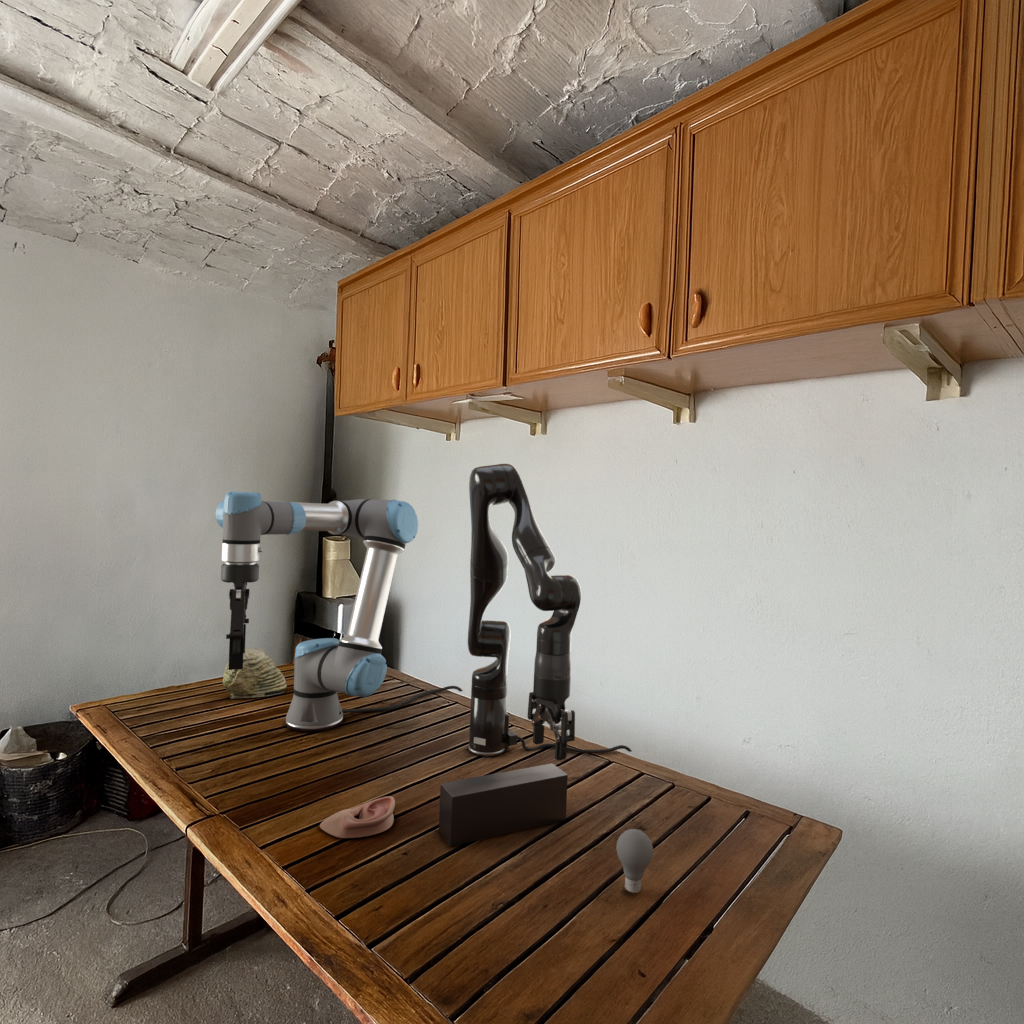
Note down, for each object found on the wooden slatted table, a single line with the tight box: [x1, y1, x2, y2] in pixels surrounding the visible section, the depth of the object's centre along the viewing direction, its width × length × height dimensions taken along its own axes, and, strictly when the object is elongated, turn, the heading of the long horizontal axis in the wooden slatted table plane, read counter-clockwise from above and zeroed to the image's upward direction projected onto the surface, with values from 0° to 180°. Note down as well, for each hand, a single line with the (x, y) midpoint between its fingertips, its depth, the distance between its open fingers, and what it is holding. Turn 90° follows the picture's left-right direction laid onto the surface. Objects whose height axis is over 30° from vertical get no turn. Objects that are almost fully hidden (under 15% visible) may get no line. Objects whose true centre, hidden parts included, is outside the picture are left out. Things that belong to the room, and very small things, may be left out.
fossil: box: [222, 646, 288, 699], centre depth 198 cm, size 9×18×15 cm, turn 132°
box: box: [438, 763, 569, 848], centre depth 125 cm, size 25×6×9 cm, turn 118°
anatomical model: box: [319, 795, 396, 839], centre depth 123 cm, size 13×4×12 cm
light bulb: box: [615, 828, 654, 894], centre depth 106 cm, size 6×6×10 cm
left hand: (237, 661), depth 137 cm, fingers open, 13 cm apart
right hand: (548, 751), depth 130 cm, fingers open, 8 cm apart
